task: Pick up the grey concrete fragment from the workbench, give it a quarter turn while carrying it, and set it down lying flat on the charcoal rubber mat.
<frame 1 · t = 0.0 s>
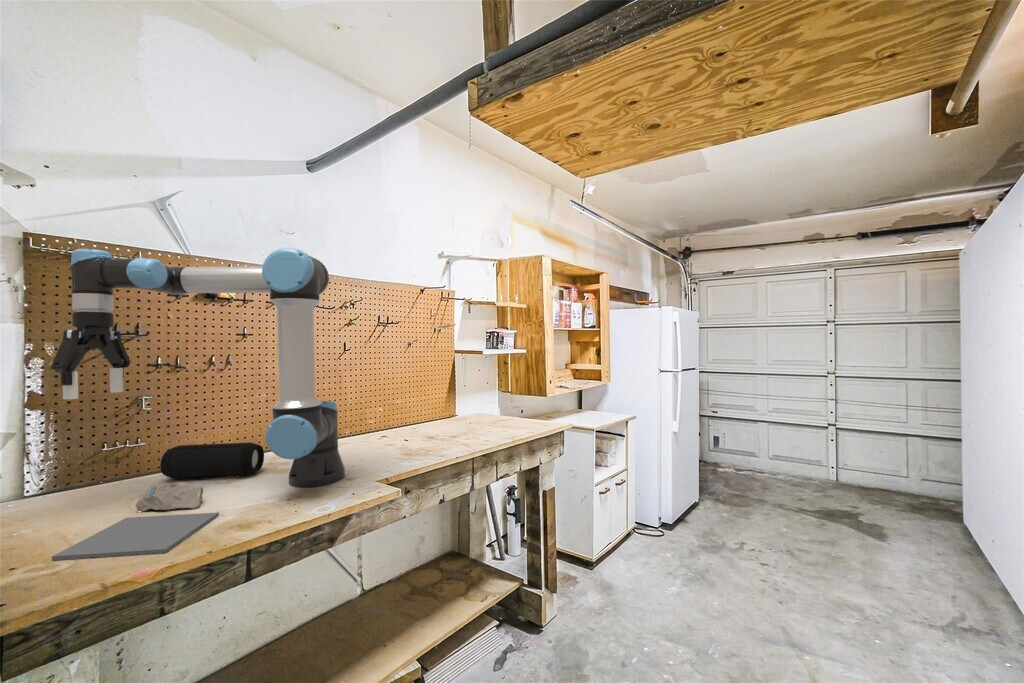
hand: (95, 395, 110), 28 cm above the table, tool pointing down, fingers open, 13 cm apart
rubber mat: (144, 535, 92), on the table
concrete fragment: (173, 508, 108), on the table
portable speaker: (214, 477, 133), on the table
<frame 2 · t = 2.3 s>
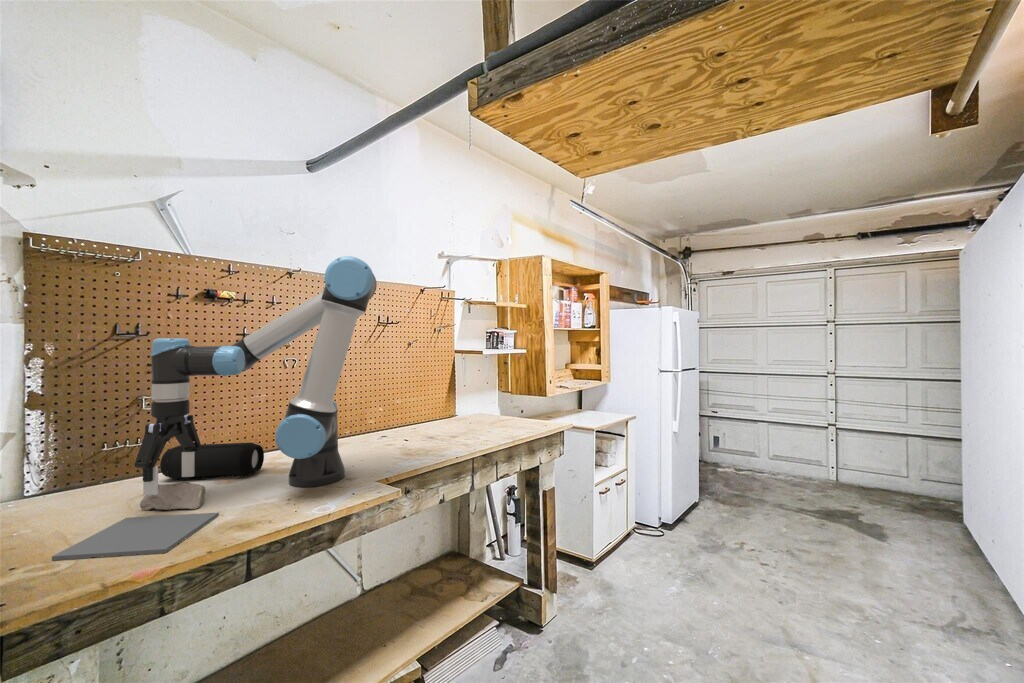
hand: (170, 485, 108), 5 cm above the table, tool pointing down, fingers open, 13 cm apart
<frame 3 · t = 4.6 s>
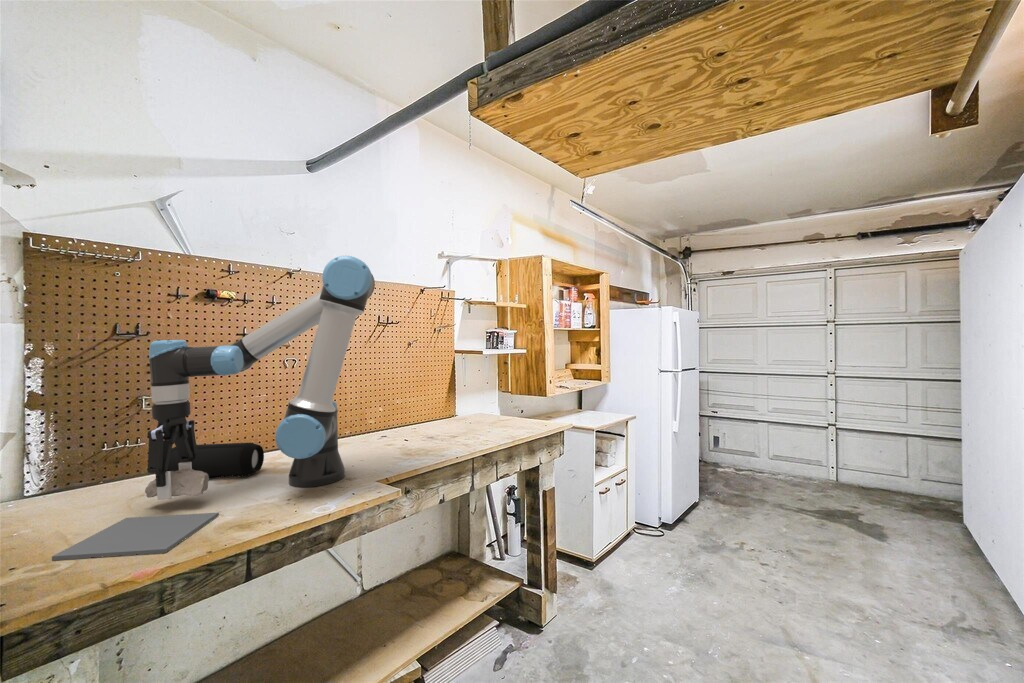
hand: (175, 492, 108), 3 cm above the table, tool pointing down, fingers closed on concrete fragment, 7 cm apart
concrete fragment: (180, 494, 108), point 3 cm above the table, touching gripper
everything else where it was.
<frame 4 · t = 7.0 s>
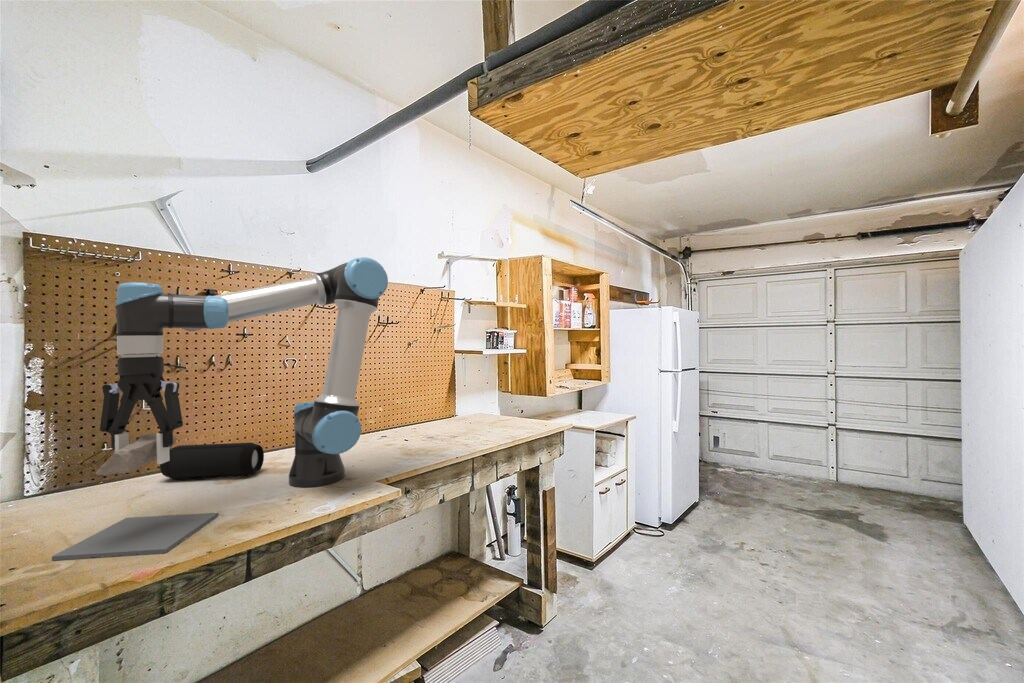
hand: (142, 463, 92), 15 cm above the table, tool pointing down, fingers closed on concrete fragment, 7 cm apart
concrete fragment: (138, 467, 91), point 15 cm above the table, touching gripper
everything else where it was.
when the fingers open (1 cm above the table, at t = 9.3 s): concrete fragment stays where it is, resting on rubber mat.
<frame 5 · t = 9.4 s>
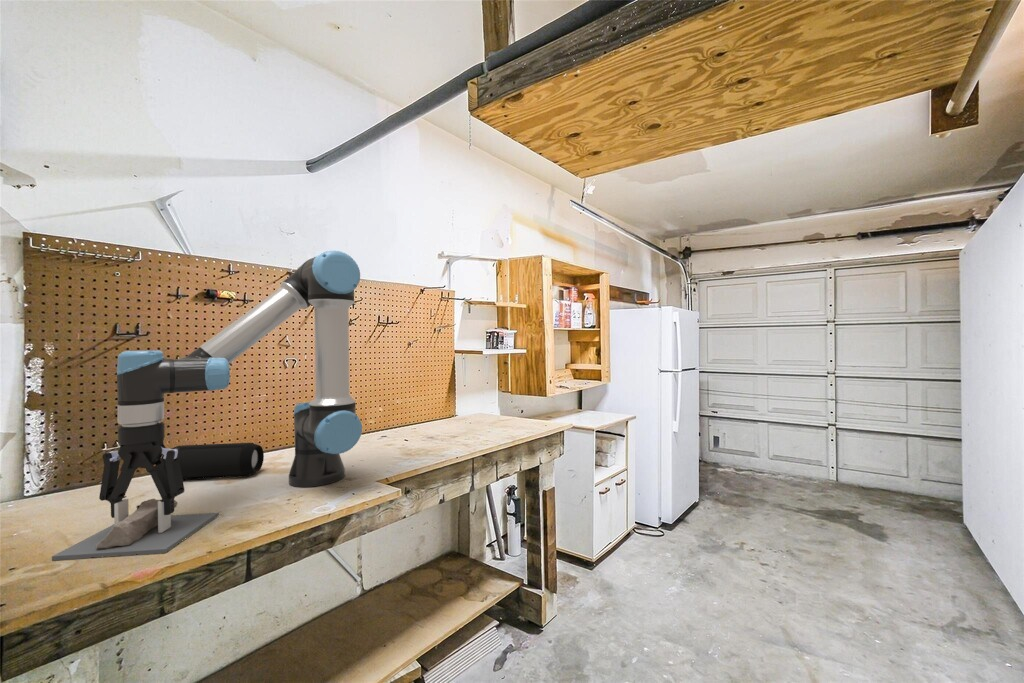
hand: (143, 530, 92), 1 cm above the table, tool pointing down, fingers open, 8 cm apart
concrete fragment: (139, 535, 90), point 1 cm above the table, touching rubber mat
everything else where it was.
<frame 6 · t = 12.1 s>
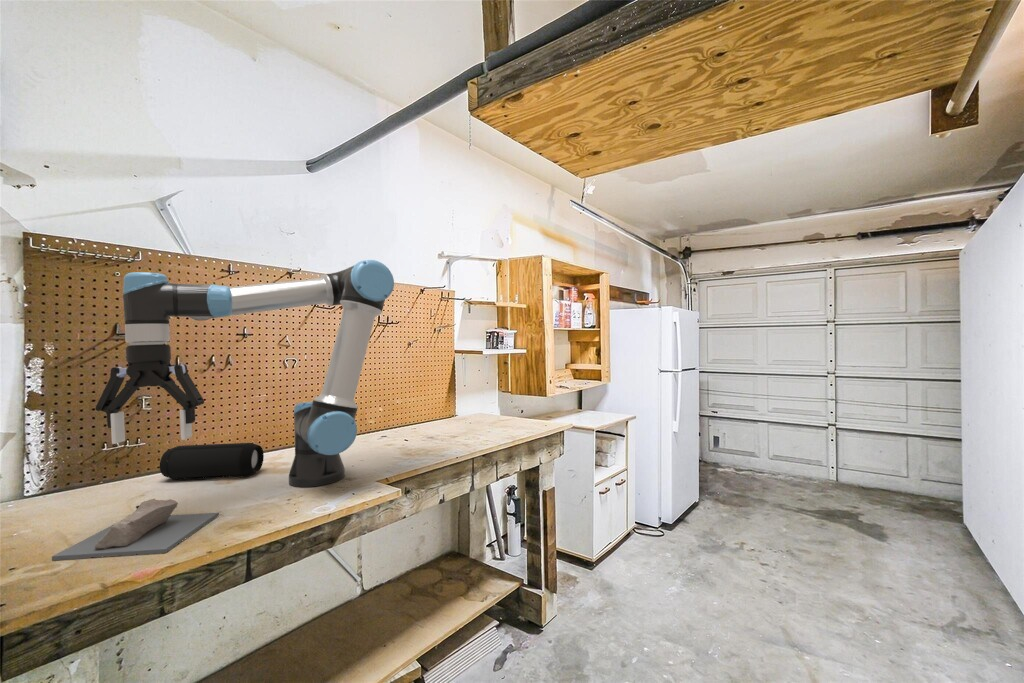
hand: (152, 440, 95), 19 cm above the table, tool pointing down, fingers open, 13 cm apart
nothing on the table moved.
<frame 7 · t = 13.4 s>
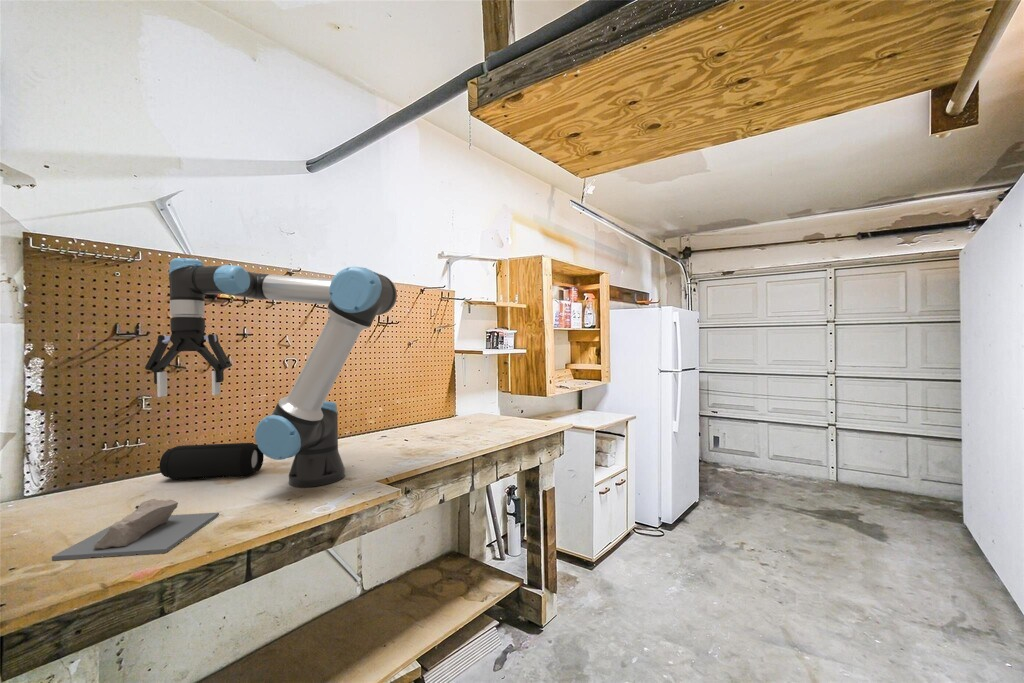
hand: (189, 395, 117), 27 cm above the table, tool pointing down, fingers open, 13 cm apart
nothing on the table moved.
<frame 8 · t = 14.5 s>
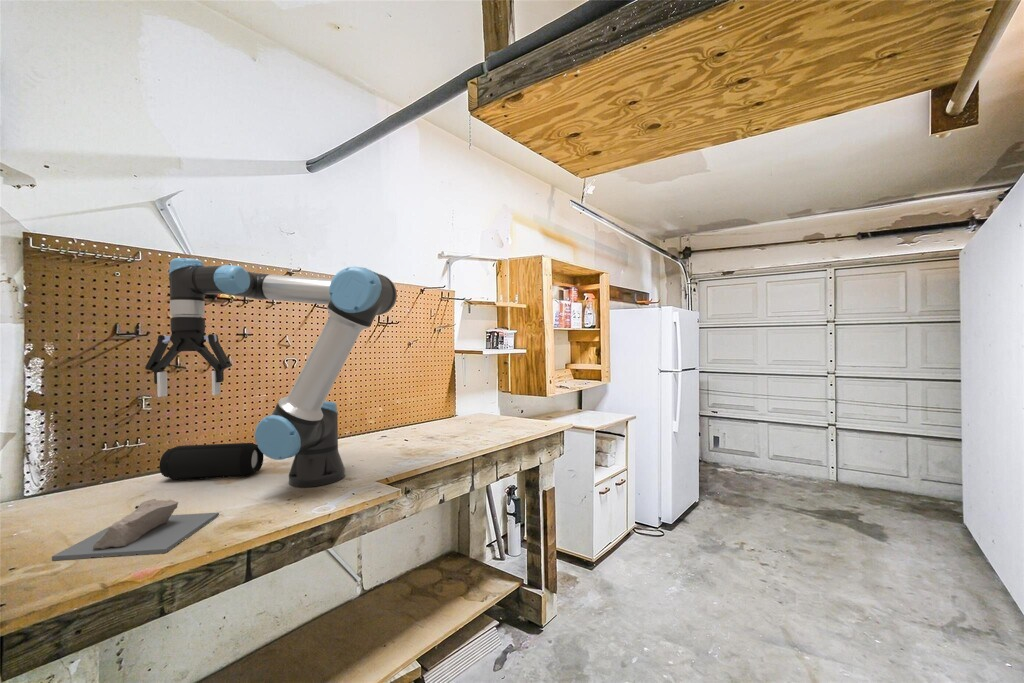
hand: (189, 395, 117), 27 cm above the table, tool pointing down, fingers open, 13 cm apart
nothing on the table moved.
at the end: concrete fragment inside the target area on the rubber mat (1.5 cm from its centre), point 0.6 cm above the rubber mat's base; concrete fragment touching rubber mat; the gripper is holding nothing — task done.
